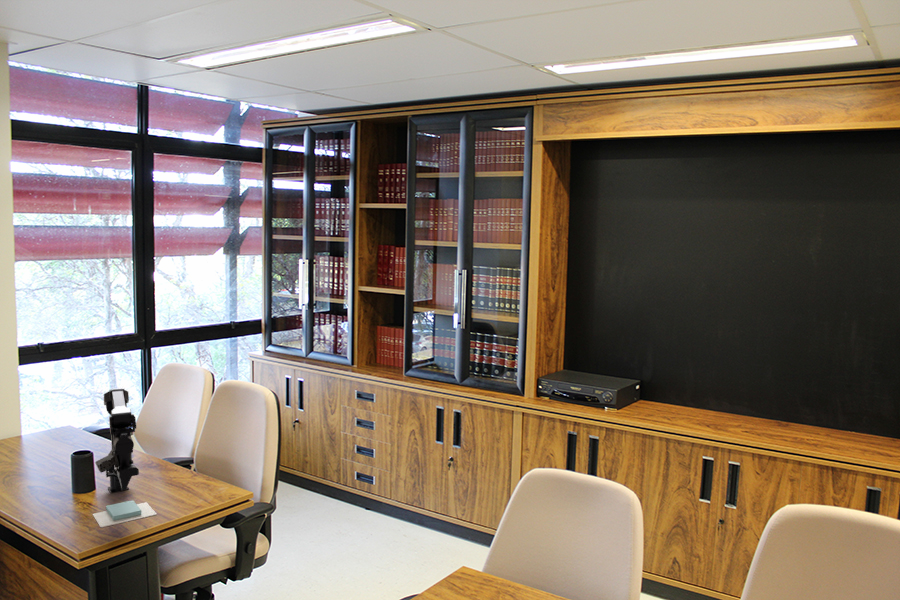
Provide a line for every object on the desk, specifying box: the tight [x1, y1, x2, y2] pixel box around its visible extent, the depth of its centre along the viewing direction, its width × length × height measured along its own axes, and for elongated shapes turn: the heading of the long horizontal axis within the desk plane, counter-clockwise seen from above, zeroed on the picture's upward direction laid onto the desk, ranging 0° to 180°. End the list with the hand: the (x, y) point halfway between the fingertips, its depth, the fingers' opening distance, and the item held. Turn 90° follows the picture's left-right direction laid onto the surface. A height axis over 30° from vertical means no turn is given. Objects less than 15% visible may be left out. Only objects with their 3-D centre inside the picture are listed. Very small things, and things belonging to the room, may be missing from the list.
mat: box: [92, 501, 158, 528], centre depth 236 cm, size 14×18×1 cm
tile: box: [105, 500, 141, 520], centre depth 237 cm, size 2×9×12 cm
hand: (123, 489), depth 235 cm, fingers closed
